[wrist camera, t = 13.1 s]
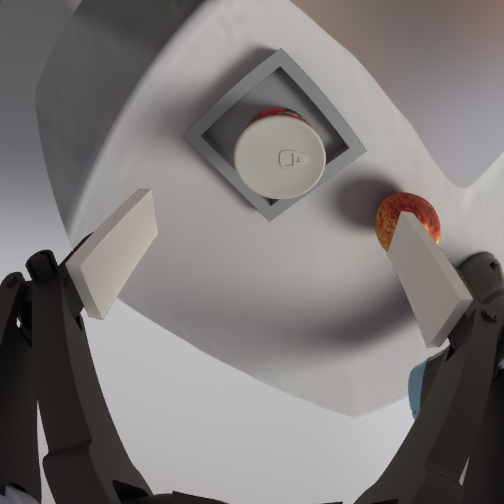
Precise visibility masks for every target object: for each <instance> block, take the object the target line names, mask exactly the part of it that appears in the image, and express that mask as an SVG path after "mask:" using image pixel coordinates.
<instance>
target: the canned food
mask: <svg viewBox="0 0 504 504" xmlns="http://www.w3.org/2000/svg"><path fill="white" fill-rule="evenodd" d="M325 163H326V154H325V148H324V145H323V142H322V140H321V138H320V137H319V135H318V134H317V132H316V131H315V130H314V129H313V127H312V126H311V125H310V124H309V123H308V122H307V121H306V120H305V119H304V118H303V116H301V115H300V114H299V113H297V112H295V111H293V110H291V109H288V108H283V107H274V108H269V109H266V110H263V111H261V112H259V113H258V114H257V115H256V116H254V117H253V119H252V120H251V121H250V122H249V124H248V125H247V126H246V128H245V129H244V130H243V132H242V133H241V135H240V136H239V138H238V141H237V143H236V146H235V150H234V164H235V169H236V171H237V174H238V176H239V178H240V179H241V180H242V182H243V183H244V184H245V185H246V186H247V187H248V188H249V189H251V190H252V191H254V192H255V193H257V194H259V195H261V196H264V197H267V198H272V199H289V198H293V197H297V196H300V195H302V194H304V193H306V192H307V191H309V190H310V189H311V188H313V187H314V185H315V184H316V183H317V182H318V181H319V179H320V178H321V176H322V174H323V171H324V169H325Z"/></svg>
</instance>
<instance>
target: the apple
mask: <svg viewBox="0 0 504 504" xmlns="http://www.w3.org/2000/svg"><path fill="white" fill-rule="evenodd" d="M401 211H404V212H410V213H413V214H414V215H415V216H416V218H417V219H418V220H419V221H420V222H421V224H422V225H423V226H424V228H425V229H426V230H427V231H428V233H429V234H430V235H431V237H432V238H433V239H434V241H435V242H436V243H437V245H438V243H439V240H440V222H439V219H438V216H437V213H436V211H435V209H434V208H433V207H432V205H431V204H430V203H429V202H428V201H426V200H425V199H424V198H422V197H420V196H417V195H414V194H410V193H404V192H400V193H395V194H392V195H390V196H388V197H386V198H385V199H384V200H383V201H382V203H381V205H380V207H379V209H378V211H377V214H376V220H375V230H376V235H377V238H378V240H379V242H380V244H381V246H382V247H383V248H384V249H385V251H386V252H387V253H388V250H389V247H390V244H391V241H392V238H393V235H394V232H395V229H396V226H397V223H398V220H399V216H400V213H401Z"/></svg>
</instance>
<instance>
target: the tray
mask: <svg viewBox="0 0 504 504" xmlns="http://www.w3.org/2000/svg"><path fill="white" fill-rule="evenodd" d="M274 107H283V108H288V109H291V110H293V111H295V112H297V113H299V114H300V115H301V116H303V118H304V119H305V120H306V121H307V122H308V123H309V124H310V125H311V126H312V127H313V129H314V130H315V131H316V132H317V134H318V135H319V137H320V138H321V140H322V142H323V145H324V148H325V154H326V163H325V169H324V171H323V174H322V176H321V178H320V179H319V181H318V182H317V183H316V184H315V185H314V187H313V188H311V189H310V190H309V191H307V192H306V193H304V194H302V195H300V196H297V197H293V198H289V199H272V198H267V197H264V196H261V195H259V194H257V193H255V192H254V191H252V190H251V189H249V188H248V187H247V186H246V185H245V184H244V183H243V182H242V180H241V179H240V178H239V176H238V174H237V171H236V169H235V164H234V150H235V146H236V143H237V141H238V138H239V136H240V135H241V133H242V132H243V130H244V129H245V128H246V126H247V125H248V124H249V122H250V121H251V120H252V119H253V117H254V116H256V115H257V114H258V113H259V112H261V111H263V110H266V109H269V108H274ZM183 137H184V138H185V139H186V140H187V141H188V142H189V143H190V144H191V145H192V146H193V147H194V148H195V149H196V150H197V151H198V152H199V153H200V154H201V155H202V156H203V157H205V158H206V159H207V160H208V161H209V162H210V163H211V164H212V165H213V166H214V167H215V168H216V169H217V170H218V171H219V172H220V173H221V174H222V175H223V176H224V177H225V178H226V179H227V180H228V181H229V182H230V183H231V184H232V185H233V186H234V187H235V188H236V189H237V190H238V191H239V192H240V193H241V194H242V195H243V196H244V197H245V198H246V199H247V200H248V201H249V202H250V203H251V204H252V205H253V206H254V207H255V208H256V209H257V210H258V211H259V212H260V213H261V214H262V215H263V216H264V217H265V218H266V219H267V220H268V221H269V222H270V221H271V220H273V219H274V218H275V217H277V216H278V215H279V214H281V213H282V212H284V211H285V210H286V209H288V208H289V207H290V206H292V205H293V204H294V203H296V202H297V201H299V200H300V199H301V198H303V197H304V196H305V195H307V194H308V193H310V192H311V191H312V190H314V189H315V188H316V187H318V186H319V185H321V184H322V183H323V182H325V181H326V180H327V179H329V178H330V177H332V176H333V175H334V174H336V173H337V172H339V171H340V170H341V169H343V168H344V167H346V166H347V165H348V164H350V163H351V162H353V161H354V160H355V159H357V158H358V157H360V156H361V155H362V154H364V153H365V152H367V150H366V149H365V147H364V146H363V144H362V143H361V141H360V140H359V139H358V137H357V136H356V134H355V133H354V132H353V130H352V129H351V127H350V126H349V125H348V123H347V122H346V121H345V119H344V118H343V117H342V116H341V114H340V113H339V112H338V110H337V109H336V108H335V107H334V105H333V104H332V103H331V102H330V101H329V99H328V98H327V97H326V96H325V94H324V93H323V92H322V91H321V90H320V89H319V87H318V86H317V85H316V84H315V83H314V82H313V81H312V80H311V78H310V77H309V76H308V75H307V74H306V73H305V72H304V71H303V70H302V69H301V68H300V66H299V65H298V64H297V63H296V62H295V61H294V60H293V59H292V58H291V57H290V56H289V55H288V54H287V53H286V52H285V51H284V50H283V49H282V48H280V49H279V50H278V51H276V52H275V53H274V54H272V55H271V56H270V57H268V58H267V59H266V60H265V61H263V62H262V63H261V64H260V65H258V66H257V67H256V68H255V69H253V70H252V71H251V72H250V73H249V74H247V75H246V76H245V77H244V78H243V79H242V80H240V81H239V82H238V83H237V84H236V85H235V86H234V87H232V88H231V89H230V90H229V91H228V92H227V93H226V94H225V95H224V96H223V97H221V98H220V99H219V100H218V101H217V102H216V103H215V104H214V105H213V106H212V107H211V108H210V109H209V110H208V111H207V112H206V113H205V114H204V115H203V116H202V117H201V118H200V119H199V120H198V121H197V122H196V123H195V124H194V125H193V126H192V127H191V128H190V129H189V130H188V131H187V132H186V133H185V134H184V135H183Z"/></svg>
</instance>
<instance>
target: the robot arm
mask: <svg viewBox="0 0 504 504" xmlns="http://www.w3.org/2000/svg"><path fill="white" fill-rule="evenodd" d="M157 235H158V230H157V224H156V217H155V210H154V203H153V195H152V189H139V190H138V191H136V192H135V193H134V194H133V195H132V196H131V197H130V198H129V199H128V200H127V201H125V202H124V203H123V204H122V205H121V206H120V207H119V208H118V209H117V210H116V211H115V212H114V213H113V214H112V215H111V216H110V217H109V218H108V219H107V220H106V221H105V222H104V223H103V224H102V225H101V226H100V227H99V228H98V229H97V230H96V231H95V232H93V233H91V234H89V235H88V236H86V237H85V238H84V239H83V240H82V241H81V242H80V243H79V244H78V246H76V247H75V248H74V249H73V251H71V253H70V254H69V255H68V256H67V257H66V258H65V259H64V260H63V261H62V263H61V264H60V265H59V266H58V265H57V262H56V260H55V257H54V255H53V252H52V251H51V250H42V251H39V252H37V253H35V254H34V255H32V256H31V257H30V258H29V259H28V260H27V262H26V268H27V270H28V272H29V274H30V276H31V278H32V280H31V281H25V279H24V277H23V275H22V273H21V272H14V273H10V274H9V275H8V276H6V278H5V279H4V280H3V281H2V283H1V285H0V504H41V499H42V495H41V477H40V467H39V456H38V439H37V401H38V404H39V409H40V415H41V419H42V424H43V429H44V432H45V437H46V441H47V444H48V450H49V451H48V454H47V455H46V456H45V457H44V458H43V463H42V464H43V469H44V473H45V476H46V479H47V482H48V485H49V487H50V490H51V493H52V495H53V498H54V500H55V503H56V504H228V503H226V502H223V501H219V500H215V499H209V498H204V497H198V496H193V495H189V494H184V493H180V492H175V491H173V493H172V494H170V493H169V494H168V493H167V494H157V495H153V493H152V491H151V490H150V488H149V486H148V485H147V483H146V481H145V480H144V478H143V477H142V475H141V474H140V473H139V471H138V470H137V469H136V468H135V467H134V466H133V464H132V463H131V461H130V459H129V457H128V455H127V453H126V451H125V449H124V446H123V444H122V442H121V440H120V437H119V435H118V433H117V430H116V428H115V426H114V423H113V421H112V418H111V415H110V413H109V410H108V407H107V405H106V402H105V399H104V397H103V393H102V390H101V387H100V384H99V381H98V378H97V374H96V371H95V368H94V364H93V360H92V357H91V353H90V349H89V345H88V340H87V336H86V332H85V327H84V322H83V318H82V316H81V314H80V312H81V311H82V309H83V307H84V308H85V310H86V312H87V314H88V316H89V317H92V318H96V319H100V320H103V319H104V318H105V316H106V314H107V313H108V311H109V309H110V307H111V306H112V304H113V302H114V301H115V299H116V297H117V296H118V294H119V293H120V291H121V289H122V288H123V286H124V284H125V283H126V281H127V280H128V278H129V277H130V275H131V273H132V272H133V270H134V269H135V267H136V266H137V264H138V263H139V261H140V260H141V258H142V257H143V255H144V254H145V252H146V251H147V249H148V248H149V246H150V245H151V243H152V242H153V240H154V239H155V238H156V236H157ZM387 255H388V257H389V259H390V261H391V263H392V265H393V267H394V269H395V271H396V273H397V275H398V278H399V280H400V282H401V284H402V286H403V289H404V291H405V293H406V295H407V298H408V300H409V302H410V305H411V307H412V310H413V312H414V315H415V317H416V320H417V322H418V325H419V327H420V330H421V333H422V335H423V338H424V341H425V344H426V347H427V348H432V347H440V346H441V345H442V344H443V343H444V341H445V340H446V339H447V337H448V339H449V342H450V344H449V346H448V347H447V348H446V349H444V350H442V351H441V352H439V353H437V354H435V355H434V356H432V357H429V358H427V359H426V361H424V362H422V363H421V364H419V365H417V366H416V367H414V368H413V370H412V371H411V373H410V376H409V381H408V394H409V402H410V407H411V410H412V414H413V417H414V419H415V422H414V424H413V426H412V427H411V429H410V431H409V433H408V435H407V436H406V438H405V440H404V441H403V443H402V445H401V447H400V448H399V450H398V451H397V453H396V455H395V456H394V458H393V459H392V461H391V462H390V464H389V465H388V467H387V468H386V470H385V471H384V472H383V474H382V475H381V477H380V478H379V480H378V481H377V482H376V483H375V484H374V485H372V486H371V487H370V488H369V489H367V490H366V491H365V492H364V493H363V494H362V495H361V496H360V497H359V498H358V499H357V500H356V501H355V503H354V504H504V273H503V270H502V267H501V265H500V263H499V261H498V260H497V259H496V258H495V256H494V255H492V254H490V253H481V254H478V255H476V256H474V257H472V258H470V259H469V260H467V261H466V262H465V263H464V264H462V265H461V266H460V267H459V268H458V269H457V268H456V267H455V266H454V265H453V264H451V263H450V262H449V260H448V259H447V257H446V256H445V254H444V253H443V252H442V250H441V249H440V247H439V246H438V245H437V243H436V242H435V241H434V239H433V238H432V237H431V235H430V234H429V233H428V231H427V230H426V229H425V228H424V226H423V225H422V224H421V222H420V221H419V220H418V219H417V218H416V216H415V215H414V214H413V213H410V212H404V211H401V213H400V216H399V220H398V223H397V226H396V229H395V232H394V235H393V238H392V241H391V244H390V247H389V250H388V253H387ZM17 318H18V320H19V321H20V323H21V324H20V327H18V326H17V324H16V323H17ZM342 503H343V502H334V503H325V504H342Z"/></svg>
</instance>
